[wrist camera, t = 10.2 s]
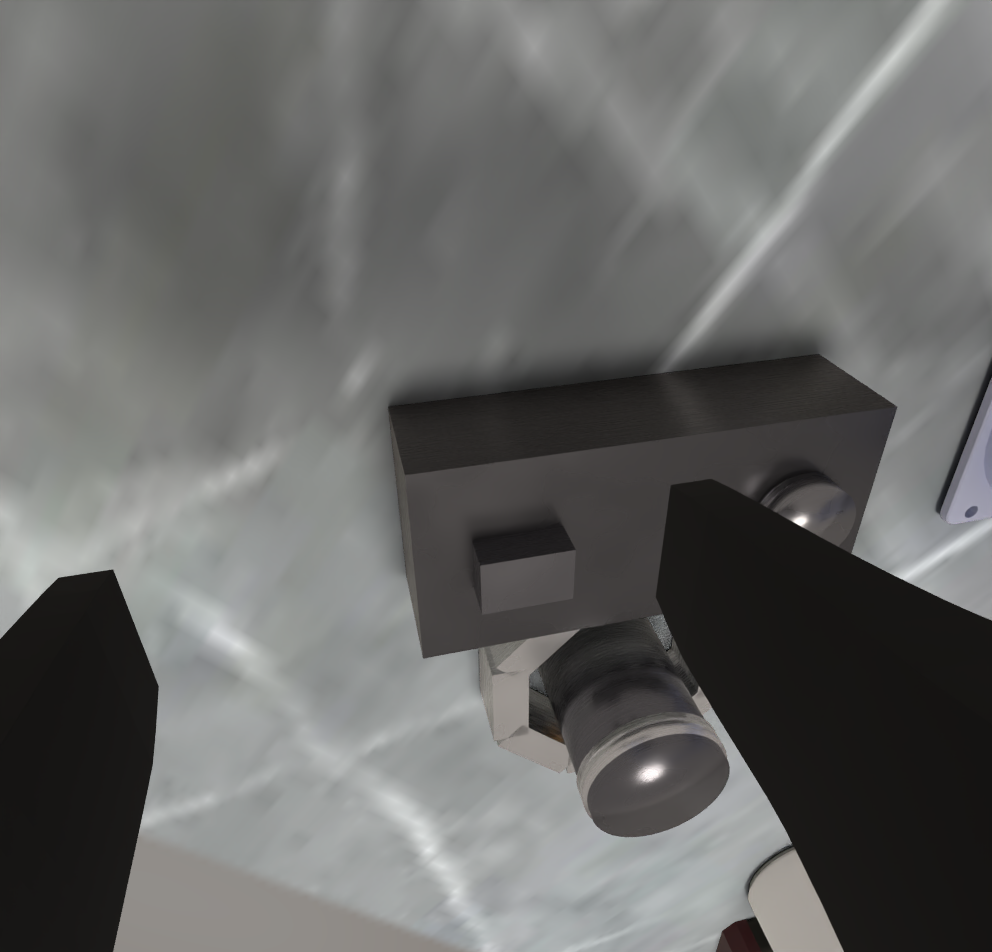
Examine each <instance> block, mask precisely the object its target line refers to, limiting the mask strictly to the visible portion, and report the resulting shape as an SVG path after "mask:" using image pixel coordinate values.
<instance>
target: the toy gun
mask: <svg viewBox="0 0 992 952" xmlns="http://www.w3.org/2000/svg"><path fill="white" fill-rule="evenodd" d="M716 952H773V950H772V948H771V946H770V944H769V942H768V940H767V938H766V936H765V934H764V932H763V930H762V928H761V926H760V924H759V922H758V920H757V918H754V919H750V920H746V919H744V920H741V921H737V922H734V923H733V924H732V925H730V926H729V927H727V928H726V929H725V930H723V931H722V934H721V937H720V940H719V944H718V947H717V950H716Z"/></svg>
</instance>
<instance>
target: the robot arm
mask: <svg viewBox="0 0 992 952" xmlns="http://www.w3.org/2000/svg"><path fill="white" fill-rule="evenodd" d="M940 516H941V518H942V519H943V520H945V521H946V522H947V523H949V524H958V523H964V522H970V521H975V520H981V519H987V518H992V378H991V380H990V383H989V385H988V388H987V391H986V393H985V396H984V399H983V401H982V404H981V406H980V409H979V412H978V414H977V417H976V419H975V422H974V425H973V427H972V430H971V432H970V435H969V438H968V440H967V443H966V445H965V448H964V451H963V453H962V456H961V459H960V461H959V464H958V466H957V469H956V472H955V474H954V477H953V479H952V482H951V485H950V487H949V490H948V492H947V495H946V498H945V500H944V503H943V505H942V508H941V512H940ZM656 599H657V601H658V603H659V606H660V608H661V611H662V613H663V615H664V618H665V620H666V622H667V625H668V627H669V630H670V632H671V634H672V636H673V638H674V641H675V643H676V645H677V647H678V649H679V651H680V654H681V656H682V658H683V660H684V661H685V663H686V665H687V667H688V668H689V670H690V672H691V673H692V675H693V677H694V678H695V680H696V682H697V683H698V685H699V687H700V688H701V690H702V692H703V693H704V695H705V697H706V698H707V700H708V702H709V703H710V705H711V707H712V708H713V710H714V711H715V713H716V715H717V716H718V718H719V720H720V721H721V723H722V724H723V726H724V728H725V729H726V731H727V733H728V734H729V736H730V737H731V739H732V741H733V742H734V744H735V746H736V747H737V749H738V750H739V752H740V754H741V755H742V757H743V759H744V760H745V762H746V763H747V765H748V767H749V768H750V770H751V772H752V773H753V775H754V777H755V778H756V780H757V781H758V783H759V785H760V786H761V788H762V790H763V791H764V793H765V794H766V796H767V798H768V799H769V801H770V803H771V805H772V807H773V808H774V810H775V812H776V814H777V815H778V817H779V819H780V821H781V823H782V824H783V826H784V828H785V830H786V832H787V834H788V836H789V838H790V840H791V842H792V844H793V846H794V848H795V850H796V852H797V854H798V856H799V858H800V860H801V862H802V864H803V866H804V868H805V871H806V873H807V875H808V877H809V879H810V881H811V883H812V885H813V887H814V889H815V891H816V893H817V895H818V897H819V899H820V901H821V903H822V905H823V908H824V910H825V912H826V914H827V916H828V919H829V921H830V923H831V925H832V927H833V929H834V932H835V934H836V936H837V938H838V940H839V942H840V945H841V947H842V949H843V951H844V952H992V621H991V620H989V619H986V618H984V617H982V616H979V615H977V614H974V613H972V612H970V611H968V610H966V609H963V608H961V607H959V606H957V605H954V604H952V603H950V602H948V601H945V600H943V599H941V598H939V597H937V596H935V595H933V594H931V593H929V592H927V591H925V590H923V589H920V588H918V587H916V586H914V585H912V584H910V583H908V582H906V581H904V580H902V579H900V578H898V577H896V576H894V575H892V574H890V573H888V572H886V571H884V570H882V569H880V568H878V567H876V566H874V565H872V564H870V563H868V562H866V561H864V560H862V559H860V558H859V557H857V556H855V555H853V554H851V553H849V552H847V551H845V550H843V549H842V548H840V547H838V546H836V545H834V544H832V543H831V542H829V541H827V540H825V539H823V538H821V537H819V536H818V535H816V534H814V533H812V532H810V531H809V530H807V529H805V528H803V527H801V526H800V525H798V524H796V523H794V522H792V521H791V520H789V519H787V518H785V517H783V516H782V515H780V514H778V513H776V512H774V511H773V510H771V509H769V508H767V507H765V506H764V505H762V504H760V503H758V502H756V501H754V500H753V499H751V498H749V497H747V496H745V495H743V494H741V493H740V492H738V491H736V490H734V489H732V488H730V487H728V486H726V485H724V484H722V483H720V482H718V481H715V480H713V479H706V480H700V481H693V482H687V483H680V484H673V485H671V486H670V494H669V501H668V509H667V516H666V524H665V531H664V538H663V546H662V553H661V561H660V568H659V575H658V583H657V590H656ZM158 688H159V686H158V684H157V681H156V678H155V676H154V673H153V671H152V668H151V666H150V663H149V661H148V658H147V655H146V653H145V650H144V648H143V645H142V643H141V640H140V637H139V635H138V632H137V630H136V627H135V625H134V622H133V619H132V617H131V614H130V612H129V609H128V607H127V604H126V601H125V599H124V596H123V594H122V591H121V589H120V586H119V584H118V581H117V578H116V576H115V573H114V571H113V570H107V571H100V572H94V573H87V574H80V575H74V576H67V577H61V578H58V579H57V580H56V581H55V582H54V583H53V584H52V585H51V586H50V587H49V588H48V589H47V590H46V591H45V592H44V593H43V594H42V595H41V596H40V597H39V598H38V599H37V600H36V601H35V602H34V603H33V604H32V605H31V607H30V608H29V609H28V610H27V611H26V612H25V613H24V614H23V615H22V616H21V617H20V618H19V619H18V620H17V622H16V623H15V624H14V625H13V626H12V627H11V628H10V629H9V630H8V631H7V632H6V633H5V635H4V636H3V637H2V638H1V639H0V952H113V949H114V945H115V940H116V935H117V931H118V926H119V922H120V917H121V912H122V908H123V903H124V898H125V894H126V889H127V884H128V879H129V875H130V870H131V866H132V860H133V857H134V852H135V847H136V843H137V838H138V833H139V829H140V824H141V819H142V814H143V809H144V805H145V800H146V795H147V790H148V785H149V780H150V775H151V770H152V765H153V755H154V744H155V733H156V719H157V704H158Z"/></svg>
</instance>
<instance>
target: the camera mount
mask: <svg viewBox="0 0 992 952" xmlns="http://www.w3.org/2000/svg"><path fill="white" fill-rule="evenodd" d="M896 409H897V406H895V405H894V404H892V403H891V402H889V401H888V400H886V399H885V398H883V397H882V396H880V395H879V394H878V393H876V392H875V391H873V390H872V389H870V388H869V387H867V386H866V385H864V384H863V383H861V382H860V381H858V380H857V379H855V378H854V377H852V376H851V375H849V374H848V373H846V372H845V371H843V370H842V369H840V368H839V367H837V366H836V365H834V364H833V363H831V362H830V361H828V360H827V359H825V358H824V357H822V356H821V355H819V354H818V355H810V356H802V357H794V358H786V359H777V360H769V361H761V362H753V363H744V364H736V365H728V366H720V367H712V368H703V369H695V370H687V371H679V372H671V373H662V374H654V375H646V376H638V377H629V378H621V379H613V380H605V381H597V382H588V383H580V384H572V385H564V386H556V387H547V388H539V389H531V390H523V391H514V392H506V393H498V394H490V395H482V396H473V397H465V398H457V399H449V400H441V401H432V402H424V403H416V404H408V405H399V406H391V407H388V411H389V420H390V429H391V438H392V447H393V457H394V466H395V475H396V484H397V493H398V503H399V512H400V521H401V530H402V540H403V549H404V558H405V567H406V576H407V582H408V586H409V591H410V596H411V601H412V606H413V611H414V616H415V621H416V626H417V631H418V636H419V640H420V645H421V650H422V655H423V658H428V657H433V656H439V655H444V654H449V653H455V652H460V651H466V650H471V649H476V648H479V669H480V692H481V695H482V699H483V702H484V706H485V710H486V713H487V717H488V720H489V724H490V728H491V731H492V735H493V738H494V741H497V744H498V746H499V747H501V748H504V749H506V750H508V751H510V752H513V753H515V754H517V755H520V756H522V757H524V758H526V759H529V760H531V761H533V762H536V763H538V764H540V765H542V766H545V767H547V768H549V769H551V770H554V771H556V772H558V773H560V772H561V771H563V770H564V769H565V768H566V770H567V773H572V772H575V770H574V767H573V764H572V761H571V758H570V756H569V753H568V750H567V747H566V745H565V742H564V739H563V736H562V734H561V731H560V728H559V725H558V723H557V720H556V717H555V714H554V711H553V709H552V706H551V703H550V700H549V698H548V697H547V696H545V695H543V694H541V693H539V692H537V691H535V690H533V689H531V688H529V675H530V674H531V673H532V672H534V671H535V670H536V669H537V668H538V667H539V666H540V665H541V664H542V663H543V662H545V661H546V660H547V659H548V658H549V657H550V656H551V655H552V654H553V653H555V652H556V651H557V650H558V649H559V648H560V647H561V646H562V645H563V644H564V643H566V642H567V641H568V640H569V639H570V638H571V637H572V636H573V635H574V634H576V633H577V632H578V631H579V630H580V629H584V628H589V627H595V626H600V625H606V624H611V623H616V622H622V621H627V620H632V619H638V618H643V617H649V616H654V615H659V614H663V613H662V611H661V608H660V606H659V603H658V601H657V599H656V590H657V583H658V575H659V568H660V561H661V553H662V546H663V538H664V531H665V524H666V516H667V509H668V501H669V494H670V486H671V485H673V484H680V483H687V482H693V481H700V480H706V479H713V480H715V481H718V482H720V483H722V484H724V485H726V486H728V487H730V488H732V489H734V490H736V491H738V492H740V493H741V494H743V495H745V496H747V497H749V498H751V499H753V500H754V501H756V502H758V503H760V504H762V505H764V506H765V507H767V508H769V509H771V510H773V511H774V512H776V513H778V514H780V515H782V516H783V517H785V518H787V519H789V520H791V521H792V522H794V523H796V524H798V525H800V526H801V527H803V528H805V529H807V530H809V531H810V532H812V533H814V534H816V535H818V536H819V537H821V538H823V539H825V540H827V541H829V542H831V543H832V544H834V545H836V546H838V547H840V548H842V549H843V550H845V551H847V552H849V553H851V552H852V549H853V546H854V543H855V540H856V537H857V533H858V530H859V527H860V524H861V521H862V517H863V514H864V511H865V508H866V505H867V501H868V498H869V495H870V492H871V489H872V486H873V482H874V479H875V476H876V473H877V470H878V466H879V463H880V460H881V457H882V454H883V451H884V447H885V444H886V441H887V438H888V435H889V431H890V428H891V425H892V422H893V419H894V416H895V412H896ZM667 654H668V656H669V657H670V659H671V661H672V663H673V664H674V666H675V668H676V670H677V672H678V673H679V675H680V677H681V679H682V680H683V682H684V684H685V686H686V687H687V689H688V691H689V693H690V695H691V696H692V698H693V700H694V702H695V703H696V705H697V707H698V709H699V711H700V712H701V714H702V715H703V714H704V713H705V712H707V711H708V710H709V709H710V708H711V705H710V703H709V702H708V700H707V698H706V697H705V695H704V693H703V692H702V690H701V688H700V687H699V685H698V683H697V682H696V680H695V678H694V677H693V675H692V673H691V672H690V670H689V668H688V667H687V665H686V663H685V661H684V660H683V658H682V656H681V654H680V651H679V649H678V647H677V645H676V643H675V641H674V638H673V639H672V645H671V648H670V649H669V650H668V651H667Z"/></svg>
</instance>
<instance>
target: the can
mask: <svg viewBox="0 0 992 952" xmlns="http://www.w3.org/2000/svg"><path fill="white" fill-rule="evenodd" d="M748 900H749V903H750V905H751V908H752V910H753V912H754V914H755V916H756V918H757V920H758V922H759V924H760V926H761V928H762V930H763V932H764V934H765V936H766V938H767V940H768V942H769V944H770V946H771V948H772V950H773V952H844V951H843V949H842V947H841V945H840V942H839V940H838V938H837V936H836V934H835V932H834V929H833V927H832V925H831V923H830V921H829V919H828V916H827V914H826V912H825V910H824V908H823V905H822V903H821V901H820V899H819V897H818V895H817V893H816V891H815V889H814V887H813V885H812V883H811V881H810V879H809V877H808V875H807V873H806V871H805V868H804V866H803V864H802V862H801V860H800V858H799V856H798V854H797V852H796V850H795V848H794V846H793V847H791V848H788V849H786V850H784V851H783V852H781V853H779V854H778V855H776V856H774V857H773V858H772V859H770V860H769V861H768V862H766V863H765V864H764V865H763V866H762V867H761V868H760V869H759V870H758V871H757V872H756V874H755V875H754V876H753V878H752V880H751V882H750V886H749V894H748Z"/></svg>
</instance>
